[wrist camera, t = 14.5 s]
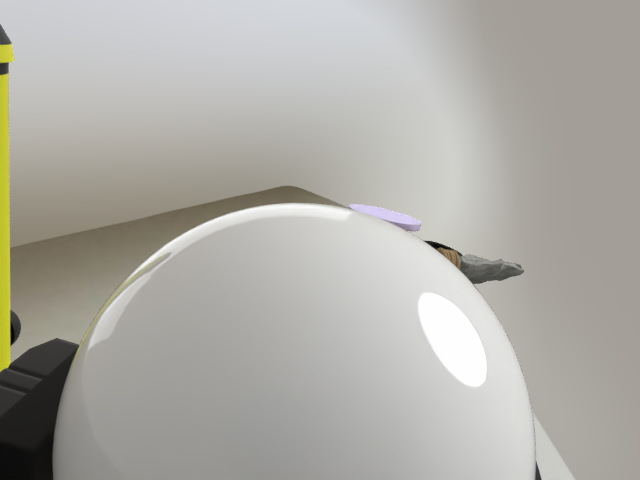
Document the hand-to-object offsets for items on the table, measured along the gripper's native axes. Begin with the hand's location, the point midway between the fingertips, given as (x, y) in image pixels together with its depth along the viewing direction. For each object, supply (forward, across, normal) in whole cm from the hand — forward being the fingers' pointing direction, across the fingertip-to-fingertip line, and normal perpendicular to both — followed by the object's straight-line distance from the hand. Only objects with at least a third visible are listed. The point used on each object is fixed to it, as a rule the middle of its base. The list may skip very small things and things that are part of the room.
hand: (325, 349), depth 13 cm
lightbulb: (-5, 0, -6) cm, 8 cm away
